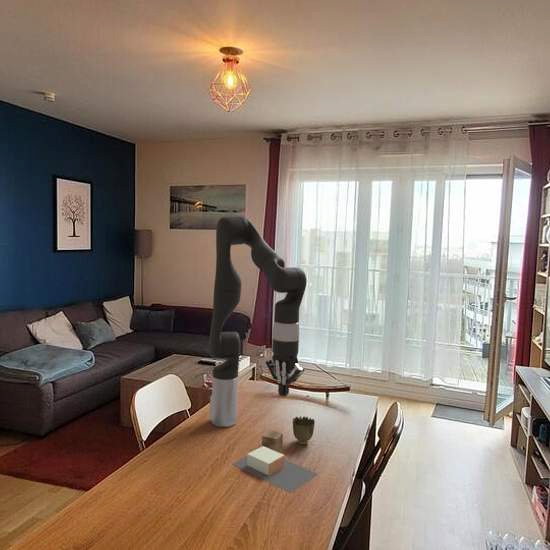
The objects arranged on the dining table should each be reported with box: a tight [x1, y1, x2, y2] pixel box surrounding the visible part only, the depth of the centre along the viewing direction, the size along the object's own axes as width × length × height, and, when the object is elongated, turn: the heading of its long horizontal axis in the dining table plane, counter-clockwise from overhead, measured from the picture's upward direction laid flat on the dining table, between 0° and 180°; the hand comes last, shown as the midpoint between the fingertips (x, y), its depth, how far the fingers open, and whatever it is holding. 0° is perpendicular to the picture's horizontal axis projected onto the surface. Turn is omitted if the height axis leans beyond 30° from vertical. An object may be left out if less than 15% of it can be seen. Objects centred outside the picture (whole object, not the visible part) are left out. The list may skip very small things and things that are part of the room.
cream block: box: [246, 445, 286, 476], centre depth 135 cm, size 4×7×8 cm
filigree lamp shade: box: [292, 415, 315, 446], centre depth 150 cm, size 8×7×8 cm
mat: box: [232, 456, 319, 494], centre depth 133 cm, size 22×13×1 cm, turn 51°
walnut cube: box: [261, 429, 284, 453], centre depth 146 cm, size 5×5×5 cm
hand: (283, 395), depth 132 cm, fingers closed
